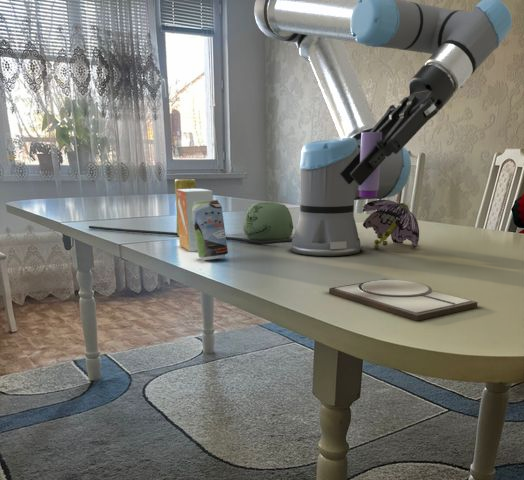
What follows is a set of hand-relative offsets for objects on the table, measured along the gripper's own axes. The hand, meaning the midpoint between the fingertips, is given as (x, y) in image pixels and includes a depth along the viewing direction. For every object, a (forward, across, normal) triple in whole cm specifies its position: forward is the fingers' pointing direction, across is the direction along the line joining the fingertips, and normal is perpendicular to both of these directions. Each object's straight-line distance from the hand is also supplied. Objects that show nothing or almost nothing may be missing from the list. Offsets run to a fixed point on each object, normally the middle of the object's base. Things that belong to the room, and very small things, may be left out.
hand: (349, 179), depth 97 cm
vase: (+26, +54, +3) cm, 60 cm away
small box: (+27, +33, +4) cm, 43 cm away
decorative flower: (-3, +18, -26) cm, 31 cm away
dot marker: (0, 0, -5) cm, 5 cm away
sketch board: (+13, -24, -9) cm, 29 cm away
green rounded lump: (+13, +43, -10) cm, 46 cm away
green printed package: (+27, +17, +4) cm, 32 cm away
